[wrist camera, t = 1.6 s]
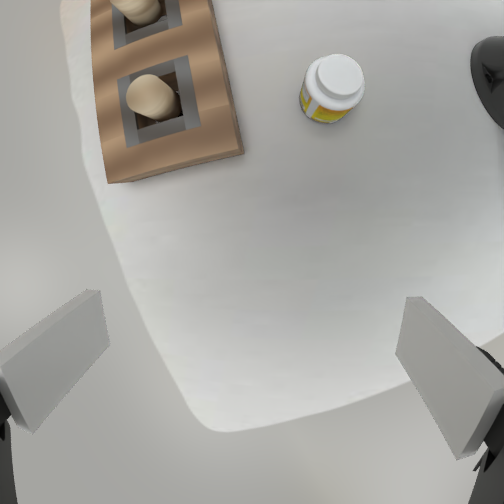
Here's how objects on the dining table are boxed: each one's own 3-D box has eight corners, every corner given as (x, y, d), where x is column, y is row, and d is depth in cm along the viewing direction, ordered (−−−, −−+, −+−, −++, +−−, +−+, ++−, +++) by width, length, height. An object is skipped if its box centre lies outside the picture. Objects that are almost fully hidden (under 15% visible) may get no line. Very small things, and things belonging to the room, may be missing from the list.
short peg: (147, 96, 30) (123, 82, 24) (179, 85, 29) (160, 69, 23) (152, 126, 30) (128, 118, 25) (185, 117, 30) (166, 105, 24)
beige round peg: (131, 9, 25) (109, -14, 19) (161, -3, 25) (143, -28, 19) (133, 32, 26) (109, 10, 20) (164, 20, 25) (145, -4, 20)
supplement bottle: (356, 106, 31) (385, 82, 21) (321, 134, 32) (340, 117, 22) (323, 71, 30) (341, 34, 21) (288, 97, 32) (294, 67, 22)
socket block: (110, 12, 29) (90, -5, 23) (206, -21, 28) (197, -46, 22) (131, 182, 35) (107, 183, 29) (244, 153, 33) (238, 148, 28)
